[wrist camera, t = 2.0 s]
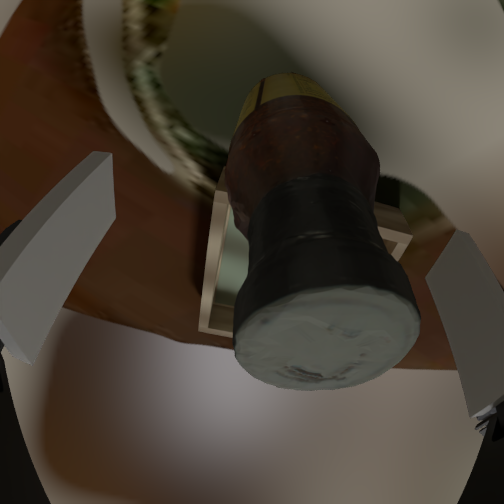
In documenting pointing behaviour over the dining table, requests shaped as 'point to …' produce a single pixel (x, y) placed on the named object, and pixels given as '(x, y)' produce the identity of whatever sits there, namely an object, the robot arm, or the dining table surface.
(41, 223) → the robot arm
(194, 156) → the dining table surface
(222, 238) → the box
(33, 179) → the dining table surface
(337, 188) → the sauce bottle
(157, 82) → the dining table surface
